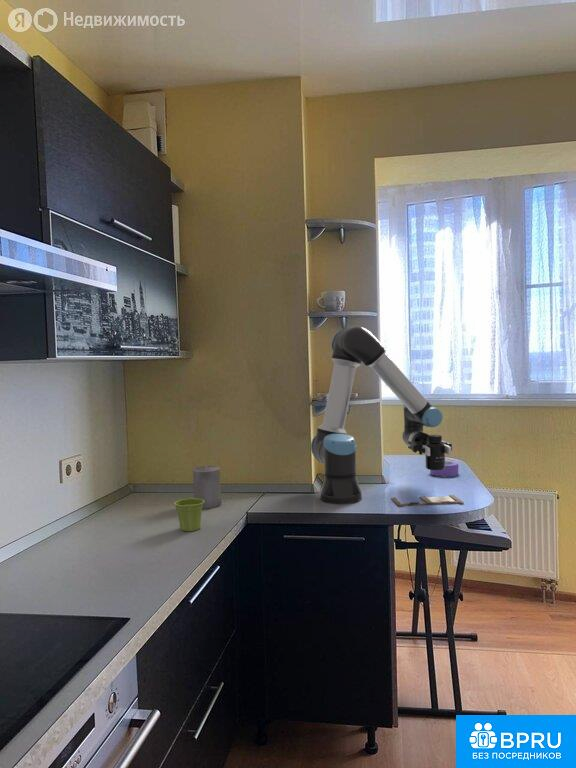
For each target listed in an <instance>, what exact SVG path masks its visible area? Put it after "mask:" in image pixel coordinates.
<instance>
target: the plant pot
mask: <svg viewBox="0 0 576 768" xmlns="http://www.w3.org/2000/svg"><path fill="white" fill-rule="evenodd" d="M203 503H204V500H202V499H194V498H184V499H179V500H176V501H174V504H173V505H175V508H176V510H177V516H178V521H179V528H180V531H183V532H184V531H185V532H195V531H197V530H199V529H200V528H201V524H202V511H203V509H202V507H203ZM200 530H201V529H200Z"/></svg>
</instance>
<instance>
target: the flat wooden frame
mask: <svg viewBox="0 0 576 768" xmlns="http://www.w3.org/2000/svg"><path fill="white" fill-rule="evenodd" d="M419 499H420V500H421V501H423V502H419V501H412V502H410V501H409V502H408V503H401V501H400V500H399V499H398V498H397V497H393V496H392V497H391V500H392V502H393V503H394V504H395V505H396V506H397V507H398V508H403V507H410V506H411V507H412V506H413V507H414V506H431V505H432V506H434V505H435V506H436V505H437V506H438V505H454V504H457V505H464V504H465V503H464V501H463V500H461V499H459V498H458V497H457V496H456V495H454V494H449V495H447V496H446V495H445V496H425V495H420V496H419ZM407 505H408V506H407Z"/></svg>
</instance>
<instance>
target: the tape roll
mask: <svg viewBox="0 0 576 768" xmlns="http://www.w3.org/2000/svg"><path fill="white" fill-rule="evenodd" d="M429 472H430V473H429V474H430V475H431V474H432V475H431V476H434V475H435V476H434V477H440V476H452V477H456V476H455V475H457V476H458V475H459V462H457V461H451V460H445V468H444V469H443V470H429Z"/></svg>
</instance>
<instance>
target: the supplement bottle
mask: <svg viewBox="0 0 576 768" xmlns="http://www.w3.org/2000/svg"><path fill="white" fill-rule="evenodd" d="M442 440H443V437H442V435H441V434H428V441H429V442H428V443H426V445H425V446H427V447H429V448H430V456H427V455H426V454H424V456H425V458H424V460H425V469H427V470H429V471H430V470H443V469H444V468H445V461H446V453H445V445H444V444H443V443H442V442H441V441H442Z"/></svg>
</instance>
